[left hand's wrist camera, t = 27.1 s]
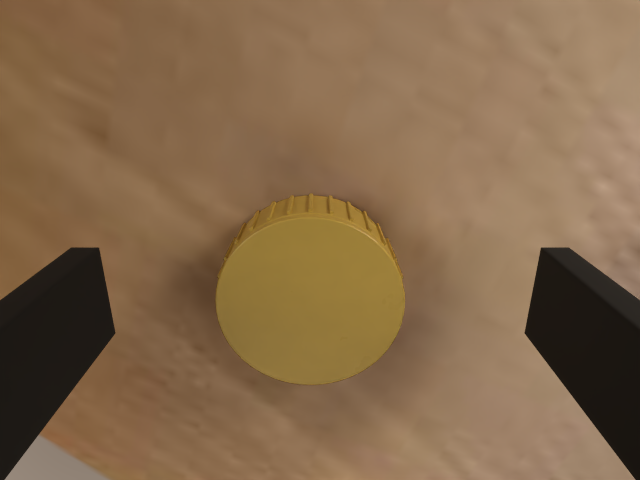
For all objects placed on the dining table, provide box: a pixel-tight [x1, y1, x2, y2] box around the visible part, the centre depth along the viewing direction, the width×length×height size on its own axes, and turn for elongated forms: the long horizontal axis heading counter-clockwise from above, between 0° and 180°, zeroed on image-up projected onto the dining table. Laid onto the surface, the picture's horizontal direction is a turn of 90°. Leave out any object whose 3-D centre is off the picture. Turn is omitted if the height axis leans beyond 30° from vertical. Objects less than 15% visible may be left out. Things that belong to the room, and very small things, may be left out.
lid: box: [215, 194, 405, 385], centre depth 14 cm, size 6×6×2 cm
